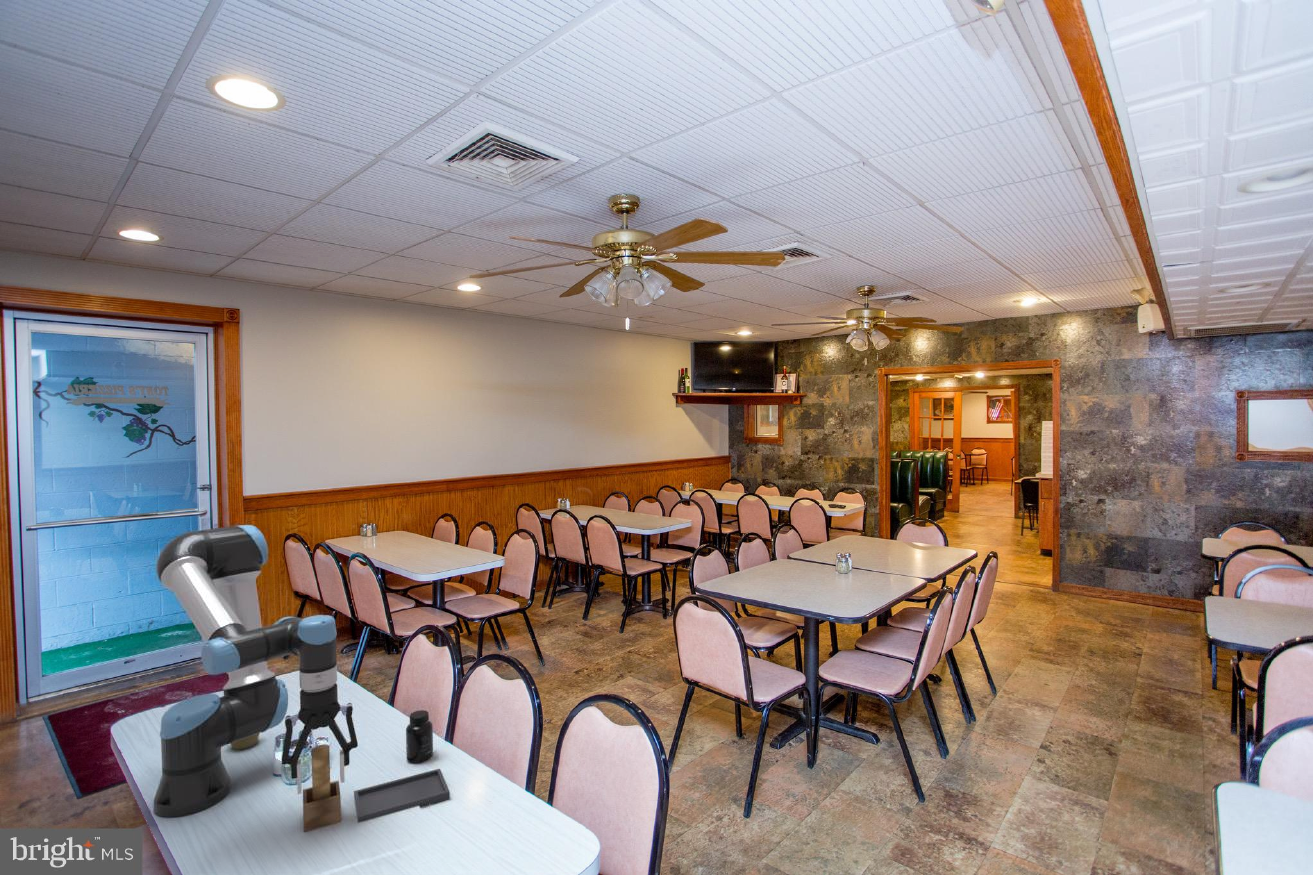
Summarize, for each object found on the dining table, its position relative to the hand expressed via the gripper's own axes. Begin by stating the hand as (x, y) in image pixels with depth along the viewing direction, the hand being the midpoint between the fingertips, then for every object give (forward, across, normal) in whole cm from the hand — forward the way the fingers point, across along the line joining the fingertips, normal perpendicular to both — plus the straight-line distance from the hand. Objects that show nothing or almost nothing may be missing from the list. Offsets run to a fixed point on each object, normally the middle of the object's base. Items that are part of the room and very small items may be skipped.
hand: (321, 785), depth 146 cm
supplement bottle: (+8, +24, +18) cm, 31 cm away
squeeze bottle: (+8, -18, +51) cm, 55 cm away
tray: (+8, +17, 0) cm, 19 cm away
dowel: (+8, 0, 0) cm, 8 cm away
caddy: (+8, 0, 0) cm, 8 cm away
